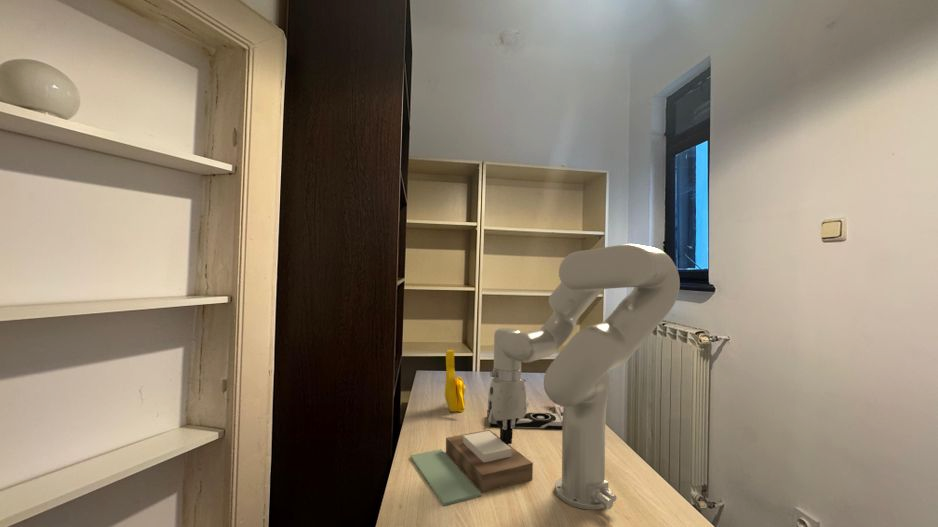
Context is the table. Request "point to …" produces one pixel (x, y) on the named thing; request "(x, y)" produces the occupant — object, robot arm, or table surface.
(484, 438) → the tile
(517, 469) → the block
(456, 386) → the yellow upright piece
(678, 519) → the table surface
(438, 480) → the mat
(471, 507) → the table surface
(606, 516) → the table surface
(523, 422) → the graphics card
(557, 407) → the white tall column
